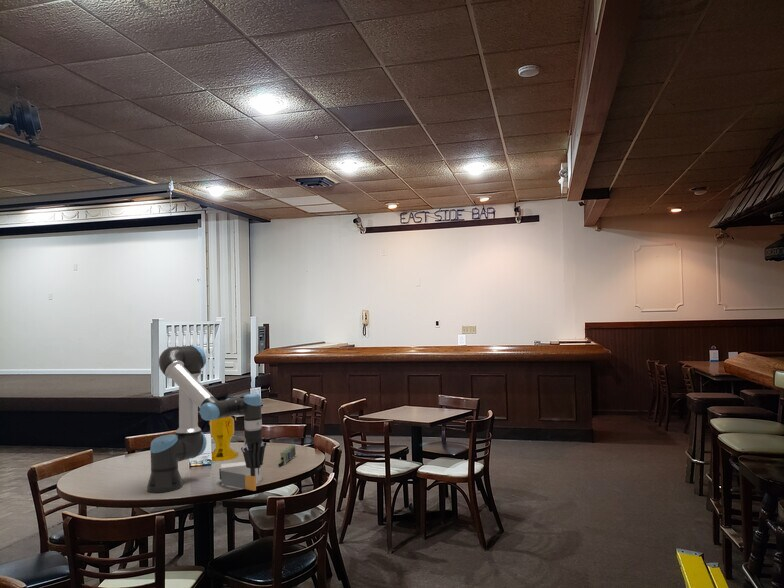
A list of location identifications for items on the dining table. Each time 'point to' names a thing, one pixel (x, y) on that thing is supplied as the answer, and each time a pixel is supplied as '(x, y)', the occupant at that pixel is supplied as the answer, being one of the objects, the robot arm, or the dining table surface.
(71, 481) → the dining table surface
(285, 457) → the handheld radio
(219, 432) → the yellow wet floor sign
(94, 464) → the dining table surface
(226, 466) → the camera housing
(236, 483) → the side door
